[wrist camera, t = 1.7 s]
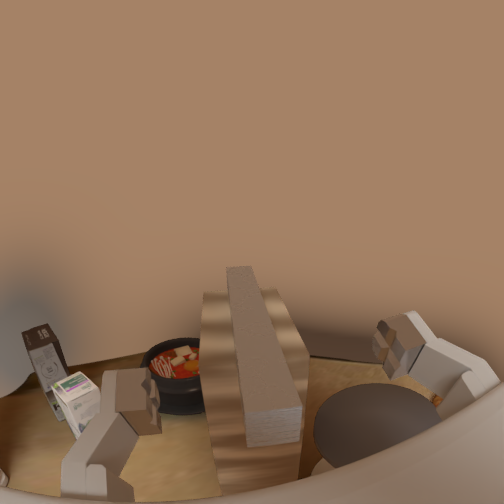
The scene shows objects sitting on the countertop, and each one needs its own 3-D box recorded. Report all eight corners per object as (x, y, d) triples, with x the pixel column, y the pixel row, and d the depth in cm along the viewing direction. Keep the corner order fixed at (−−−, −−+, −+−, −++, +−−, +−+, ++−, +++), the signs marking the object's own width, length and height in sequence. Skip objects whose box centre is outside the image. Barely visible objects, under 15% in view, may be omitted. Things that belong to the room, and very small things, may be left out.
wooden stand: (294, 505, 31) (309, 355, 25) (226, 512, 30) (198, 365, 24) (274, 429, 47) (275, 287, 40) (220, 434, 46) (203, 291, 39)
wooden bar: (299, 441, 16) (302, 405, 15) (247, 447, 15) (244, 412, 15) (251, 288, 40) (250, 265, 39) (227, 290, 39) (226, 267, 39)
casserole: (131, 433, 45) (118, 398, 42) (124, 375, 61) (115, 343, 59) (265, 403, 54) (264, 368, 52) (231, 355, 70) (229, 323, 68)
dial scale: (283, 512, 30) (288, 450, 26) (330, 444, 42) (342, 373, 38) (388, 544, 22) (432, 488, 18) (417, 465, 34) (449, 394, 30)
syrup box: (105, 433, 43) (79, 368, 40) (125, 451, 40) (98, 385, 37) (80, 448, 39) (48, 383, 35) (99, 468, 36) (65, 402, 32)
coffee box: (85, 411, 48) (59, 340, 44) (58, 422, 44) (28, 351, 40) (70, 388, 54) (47, 322, 50) (45, 398, 50) (19, 331, 46)
